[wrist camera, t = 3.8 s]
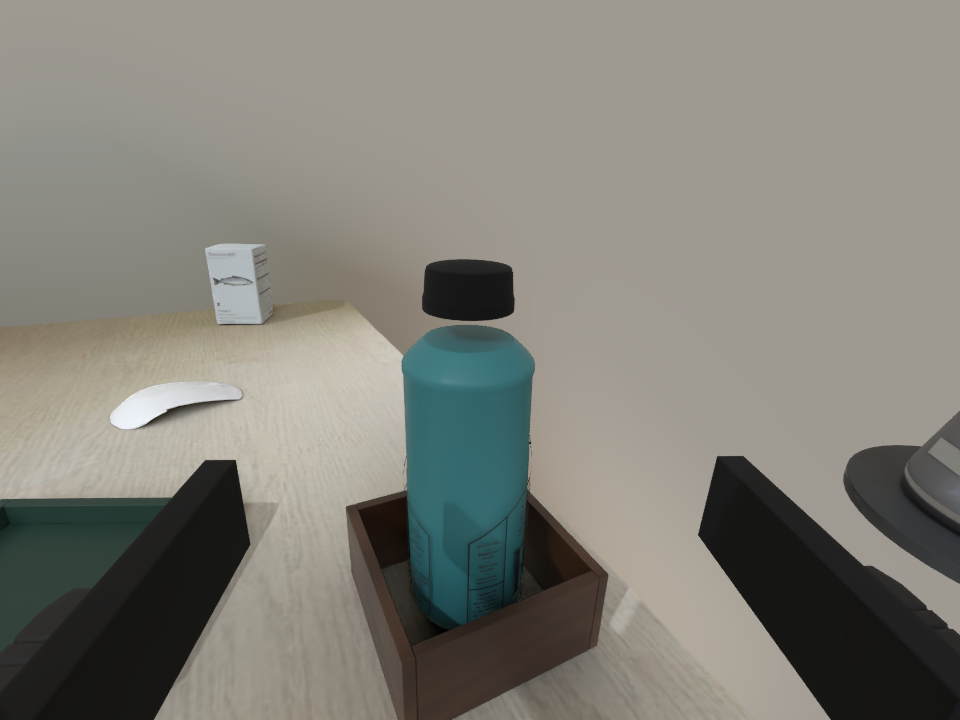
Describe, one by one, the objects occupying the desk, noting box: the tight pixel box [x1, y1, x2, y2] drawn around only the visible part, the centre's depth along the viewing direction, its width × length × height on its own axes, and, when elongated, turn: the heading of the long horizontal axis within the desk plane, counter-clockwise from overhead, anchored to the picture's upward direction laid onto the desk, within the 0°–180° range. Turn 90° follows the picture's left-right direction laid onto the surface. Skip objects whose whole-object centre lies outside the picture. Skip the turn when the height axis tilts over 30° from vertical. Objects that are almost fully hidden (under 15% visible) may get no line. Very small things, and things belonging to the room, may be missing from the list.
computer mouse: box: [110, 382, 243, 430], centre depth 50 cm, size 7×12×2 cm, turn 138°
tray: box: [0, 498, 171, 653], centre depth 26 cm, size 16×14×2 cm
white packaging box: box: [205, 244, 273, 325], centre depth 79 cm, size 7×7×13 cm
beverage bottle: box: [402, 259, 535, 630], centre depth 24 cm, size 6×7×20 cm
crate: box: [346, 490, 608, 720], centre depth 26 cm, size 11×11×5 cm
